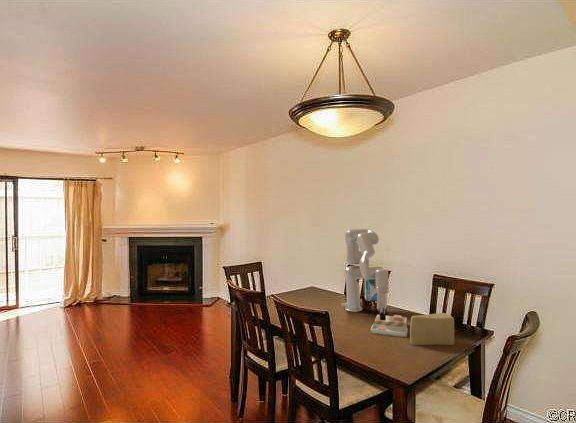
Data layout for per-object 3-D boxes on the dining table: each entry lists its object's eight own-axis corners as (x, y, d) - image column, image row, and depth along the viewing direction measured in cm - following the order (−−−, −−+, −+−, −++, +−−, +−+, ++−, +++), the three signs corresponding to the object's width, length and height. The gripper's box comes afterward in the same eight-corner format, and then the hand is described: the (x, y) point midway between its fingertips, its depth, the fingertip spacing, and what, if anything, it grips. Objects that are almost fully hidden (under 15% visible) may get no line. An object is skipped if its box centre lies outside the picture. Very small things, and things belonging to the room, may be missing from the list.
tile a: (378, 326, 197) (378, 329, 197) (377, 328, 193) (377, 331, 193) (386, 326, 195) (386, 330, 195) (385, 329, 191) (385, 332, 191)
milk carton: (376, 298, 271) (375, 267, 271) (377, 300, 262) (377, 269, 262) (364, 298, 272) (364, 267, 272) (366, 300, 263) (365, 269, 263)
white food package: (374, 327, 202) (374, 320, 202) (377, 321, 213) (377, 314, 213) (405, 331, 195) (405, 323, 195) (407, 324, 206) (406, 317, 206)
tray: (370, 333, 193) (370, 329, 193) (373, 327, 202) (373, 323, 202) (406, 337, 185) (406, 333, 185) (407, 331, 194) (407, 327, 194)
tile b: (393, 320, 201) (393, 317, 201) (394, 318, 205) (394, 314, 205) (401, 321, 199) (401, 317, 199) (401, 318, 203) (401, 315, 203)
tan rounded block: (415, 348, 170) (414, 319, 170) (406, 341, 180) (405, 313, 180) (455, 345, 172) (454, 317, 173) (445, 338, 182) (444, 311, 182)
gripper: (377, 286, 208) (378, 315, 208) (374, 292, 194) (374, 323, 194) (389, 287, 205) (390, 316, 205) (387, 292, 191) (388, 324, 191)
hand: (382, 319), depth 199 cm, fingers closed
